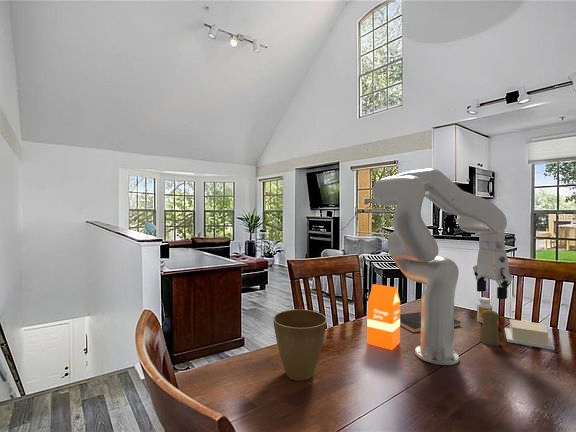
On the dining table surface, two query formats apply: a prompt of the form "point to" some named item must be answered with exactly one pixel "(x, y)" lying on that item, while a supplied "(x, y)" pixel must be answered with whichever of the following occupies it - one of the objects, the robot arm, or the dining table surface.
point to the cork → (490, 328)
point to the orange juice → (383, 317)
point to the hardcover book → (415, 321)
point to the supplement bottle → (483, 307)
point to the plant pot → (299, 341)
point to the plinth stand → (528, 334)
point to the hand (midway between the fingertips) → (491, 294)
